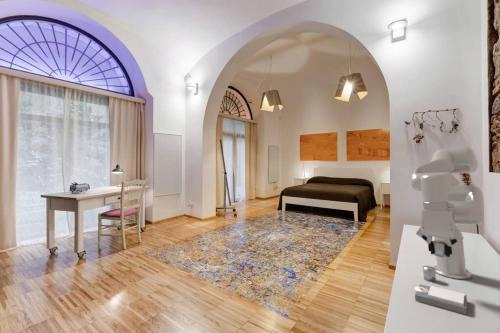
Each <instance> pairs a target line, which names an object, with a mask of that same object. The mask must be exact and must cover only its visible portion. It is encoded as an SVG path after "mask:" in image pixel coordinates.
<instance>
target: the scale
mask: <svg viewBox="0 0 500 333" xmlns="http://www.w3.org/2000/svg"><path fill="white" fill-rule="evenodd" d="M414 290H415V291H416V292H415V294H414V298H415V299H414V300H415V301H416V302H419V303H423V304H426V305H431V306H433V307H437V308H440V309H444V310H448V311H451V312H454V313H458V314H463V315H465V316H466V315H467V309H468V295H467V294H465V293H463V292H459V291H455V290H449V289H446V288H442V287H438V286H433V285H430V286H428V285H424V284H419V285H418V286H415V287H414Z"/></svg>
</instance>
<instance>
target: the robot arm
mask: <svg viewBox="0 0 500 333" xmlns="http://www.w3.org/2000/svg"><path fill="white" fill-rule="evenodd" d="M478 166H479V164H478V160H477V157H476V154H475V152H474V150H473V149H472V148H470V147H467V146H458V147H457V146H456V147H448V148H441V149H438V150H436V151H435V152H434V153H433V155H432V157H431V160H430V161H429V162H425V163H424V164H421V165H419V166H418V167H416V168H415V169H414V170H413V173H412V175H411V180H410V184H411V185H410V186H411V187H412V189H413V190H415V191H418V192H421V197H422V207H423V208H421V210H420V211H421V213H420V227H419V228H418V229H417V231H416V232H415V235H417V236H418V237H420V238H422V239H423V240H424V241H425V242H426V243H427V247H428V252H430V254H431V255H434V252H433V242H432V241H433V237H434V240H439V241H444V242H446V253H447V257H438V256H435V258H436V265H433V267H434V268H435V274H438V275H439V276H442V277H446V278H450V279H457V280H467V279H470V278H472V273H471V272H470V271H469V270H467V269H466V259H465V258H466V257H465V249H464V238H465V237H464V236H463V234H462V231H461V229H459V227H457V226H456V224H464V225H480V224H483V222H484V219H485V209H484V208H485V207H484V196H483V192H482V190H481V189H480V187H478V186H476V185H468V184H467V185H464V184H463V185H462V184H461V182H460V181H459V179H458V178H456V176H455V175H454V174H471V173H474V172H476V171H477V169H478Z"/></svg>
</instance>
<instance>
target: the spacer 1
mask: <svg viewBox="0 0 500 333" xmlns="http://www.w3.org/2000/svg"><path fill="white" fill-rule="evenodd" d="M422 272H423V280H424V281H426V282H429V283H436V282H437V277H436V272H435V268H434V266H432V265H431V266H430V265H423V266H422Z"/></svg>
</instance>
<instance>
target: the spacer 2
mask: <svg viewBox="0 0 500 333" xmlns="http://www.w3.org/2000/svg"><path fill="white" fill-rule="evenodd" d="M432 242H433V252H434V254H433V255H434V256H435V257H436V256H438V257H447V253H446V242H444V241H439V240H435V239H434V240H432Z"/></svg>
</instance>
